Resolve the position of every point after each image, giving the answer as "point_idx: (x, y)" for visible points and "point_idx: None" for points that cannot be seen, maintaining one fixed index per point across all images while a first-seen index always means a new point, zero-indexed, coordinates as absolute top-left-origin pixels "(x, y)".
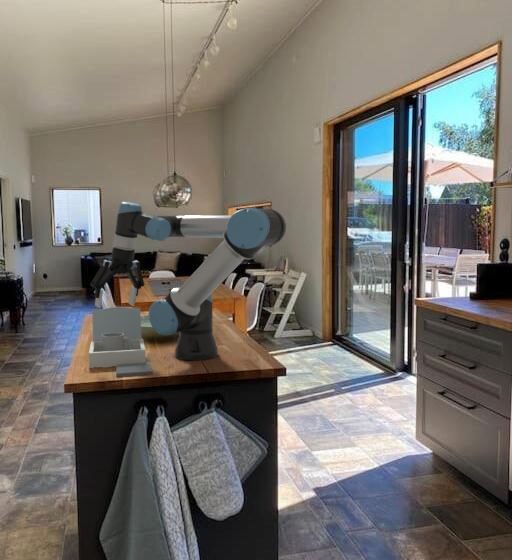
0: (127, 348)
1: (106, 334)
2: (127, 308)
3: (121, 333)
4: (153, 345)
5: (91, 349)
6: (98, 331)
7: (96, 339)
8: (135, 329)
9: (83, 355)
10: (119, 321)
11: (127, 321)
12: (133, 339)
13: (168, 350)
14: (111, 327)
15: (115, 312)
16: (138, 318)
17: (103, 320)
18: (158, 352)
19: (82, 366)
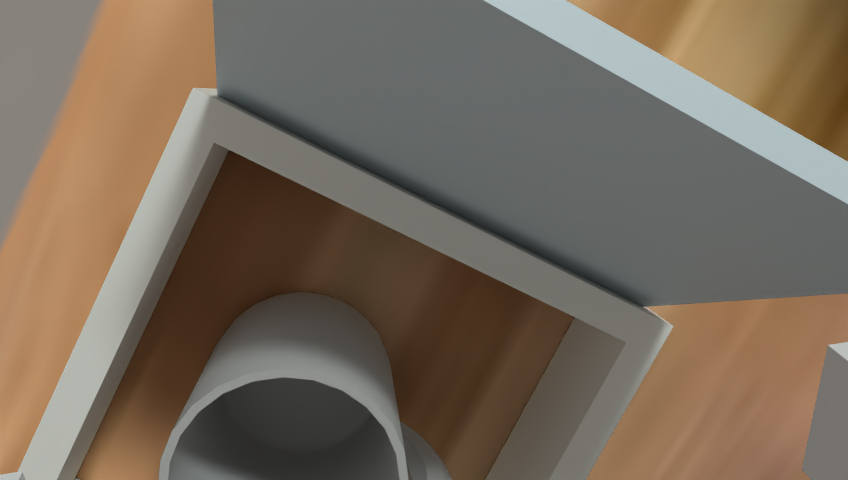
0: (409, 472)
1: (255, 377)
2: (810, 183)
3: (399, 474)
4: (835, 106)
5: (51, 444)
6: (283, 71)
7: (254, 90)
8: (681, 272)
9: (155, 30)
10: (570, 167)
11: (662, 219)
12: (590, 291)
13: (805, 361)
14: (445, 134)
15: (590, 100)
16: (814, 280)
17: (370, 51)
18: (709, 370)
19: (7, 402)
